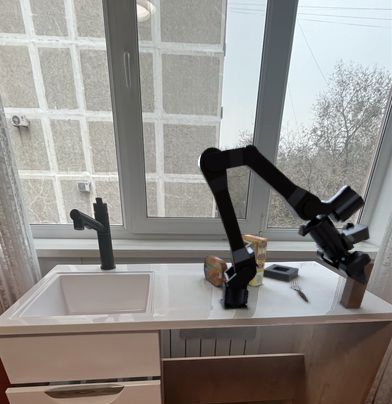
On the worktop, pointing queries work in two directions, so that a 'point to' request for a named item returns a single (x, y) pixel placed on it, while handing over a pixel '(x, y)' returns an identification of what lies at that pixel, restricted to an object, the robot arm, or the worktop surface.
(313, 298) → the worktop surface
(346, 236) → the robot arm
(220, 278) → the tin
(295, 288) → the fork
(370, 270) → the walnut post
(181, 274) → the worktop surface
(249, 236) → the candy box
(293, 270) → the base pad
